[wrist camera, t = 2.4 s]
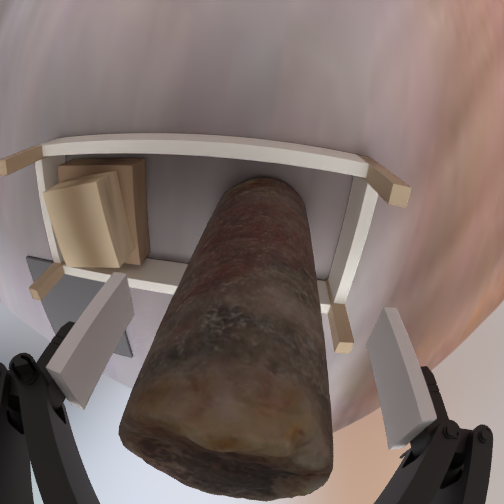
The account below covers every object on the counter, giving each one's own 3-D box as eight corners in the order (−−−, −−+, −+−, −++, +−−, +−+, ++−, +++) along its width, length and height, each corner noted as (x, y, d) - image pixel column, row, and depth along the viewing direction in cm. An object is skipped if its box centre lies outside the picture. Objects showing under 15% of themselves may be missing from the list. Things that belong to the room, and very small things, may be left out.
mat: (56, 332, 35) (55, 334, 35) (27, 256, 28) (25, 257, 28) (132, 355, 35) (131, 357, 35) (111, 272, 28) (110, 274, 28)
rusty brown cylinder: (236, 266, 26) (188, 497, 9) (200, 195, 23) (62, 427, 6) (317, 240, 24) (361, 490, 7) (288, 160, 21) (325, 430, 4)
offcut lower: (86, 239, 27) (71, 254, 24) (76, 157, 22) (57, 166, 20) (152, 248, 27) (140, 265, 24) (147, 157, 22) (132, 165, 20)
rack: (73, 254, 27) (32, 298, 21) (57, 138, 21) (-3, 161, 14) (334, 290, 27) (349, 353, 20) (369, 157, 20) (412, 187, 14)
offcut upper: (83, 250, 24) (66, 266, 21) (63, 180, 21) (42, 192, 18) (134, 248, 23) (119, 267, 21) (116, 170, 20) (96, 181, 17)
